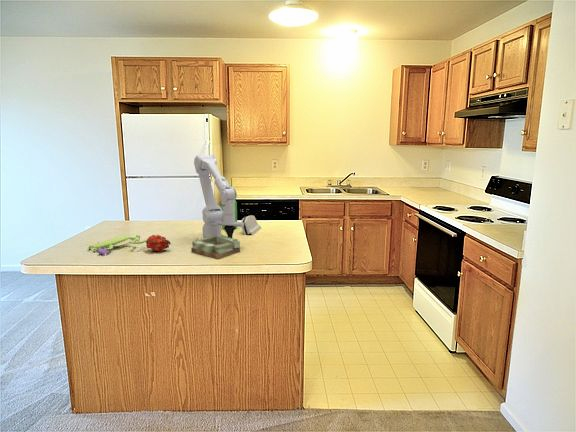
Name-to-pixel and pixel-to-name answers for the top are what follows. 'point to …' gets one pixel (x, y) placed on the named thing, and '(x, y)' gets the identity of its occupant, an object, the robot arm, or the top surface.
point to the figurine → (114, 243)
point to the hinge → (250, 225)
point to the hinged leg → (228, 241)
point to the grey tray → (213, 248)
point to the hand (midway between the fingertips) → (230, 240)
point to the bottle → (235, 211)
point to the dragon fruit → (157, 243)
